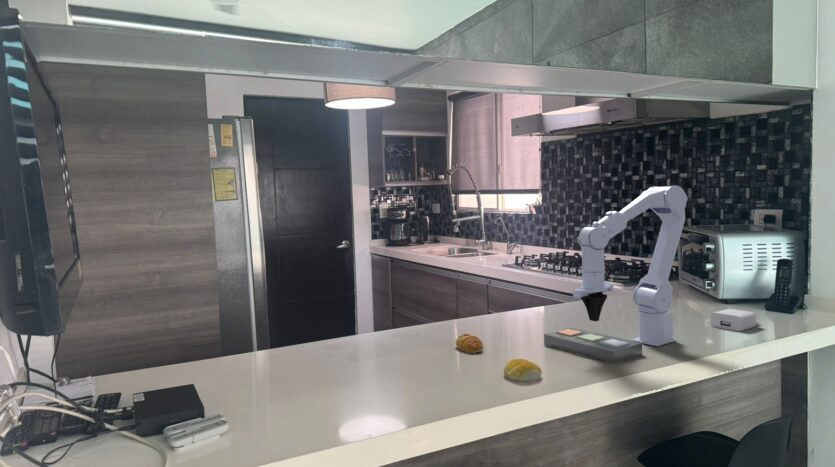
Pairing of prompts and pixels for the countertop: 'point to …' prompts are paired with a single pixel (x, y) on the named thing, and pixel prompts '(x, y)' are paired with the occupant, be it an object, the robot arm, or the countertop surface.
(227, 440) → the countertop surface
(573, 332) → the terracotta button
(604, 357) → the button panel
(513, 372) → the bread roll
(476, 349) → the pastry
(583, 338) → the sage button
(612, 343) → the blue-grey button
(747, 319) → the charger
